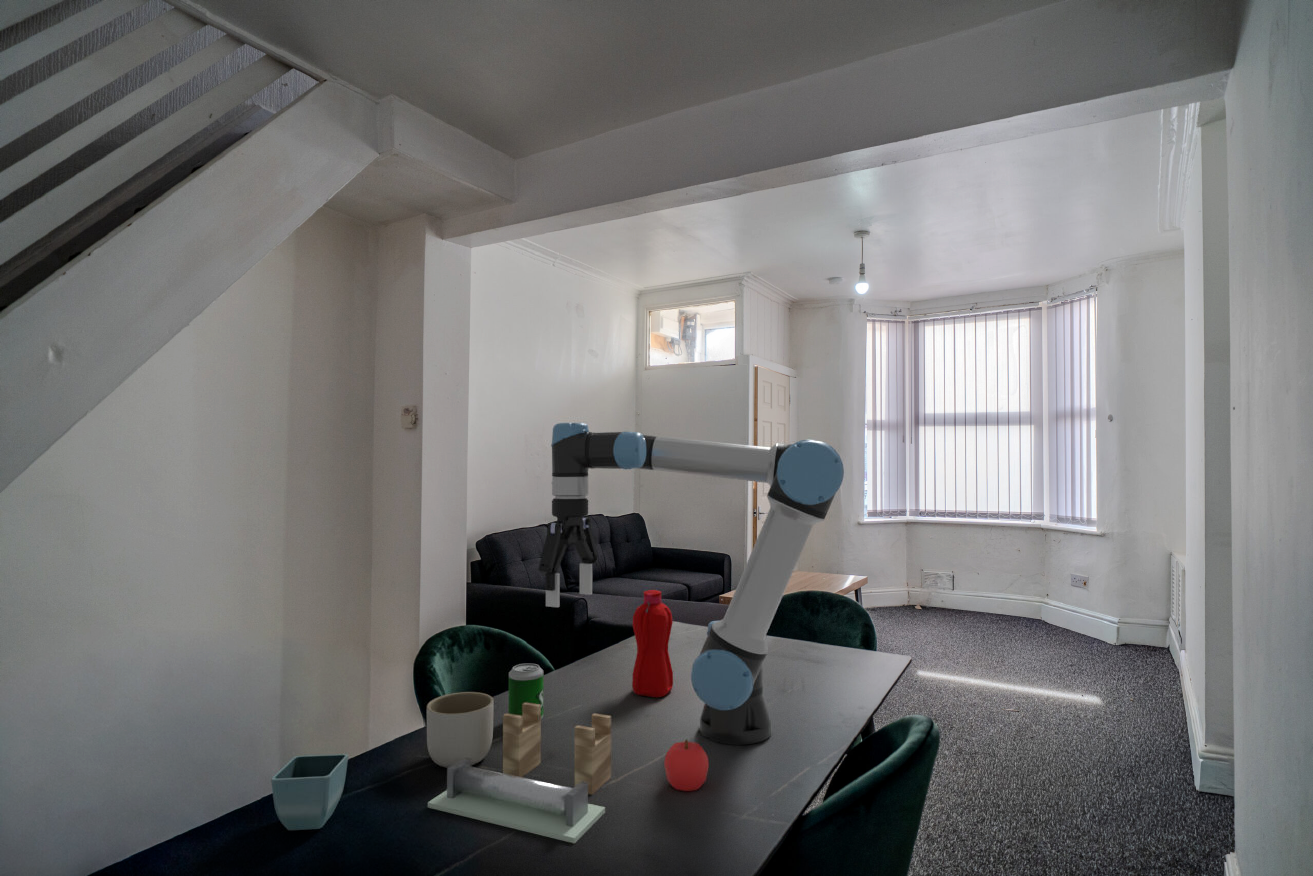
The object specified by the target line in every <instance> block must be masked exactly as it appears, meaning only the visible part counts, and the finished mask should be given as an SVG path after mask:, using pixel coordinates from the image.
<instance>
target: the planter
mask: <svg viewBox="0 0 1313 876" xmlns="http://www.w3.org/2000/svg"><path fill="white" fill-rule="evenodd" d="M494 705H495V703H494V698H493V696H491V695H489V694H487V693H483V692H476V691H464V692H463V691H461V692H453V693H449V694H448V693H447V694H444V695H441V696H438V697H435V698H434V699H432V700H430V701H429V702H428V703H427V704H426V745H427V750H428V754H429V756H430V758H431V760H432V761H433V762H434V763H435V764H436V765H438V766H439V767H441V768H446V769H447V768H449V767H451V766H452V765H454V764H455V763H457V762H459V761H460V760H462V759H464V758H465V757H466V758H471V766H473V765H476V764H478V763H479V762H481V761H482V760H483V759H484V758H486V756H487V755H488V754H489V752H490V749H491V746H492V744H493V735H494V734H493V733H494V708H495V707H494Z"/></svg>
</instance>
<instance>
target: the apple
mask: <svg viewBox="0 0 1313 876" xmlns="http://www.w3.org/2000/svg"><path fill="white" fill-rule="evenodd" d="M705 751H706V750H704V748H703V746H701V745H700V744H699V743H698V742H693V741H689V740H688V739H685V741H679V742H674V744H673V745H671V746H670V748H669V749H668V751H667V752H666V753H665V755H664V762H663V764H664V769H665V774H666V780H667V781H668V783H669V784H670V785H671V786H672V787H673V788H674V789H675V790H677V791H682V792H690V791H691V792H692V791H697V790H698V789H700V788H701V787H702V785H704V783H706V781H707V775H708V772H709V766H710V762H709V757H708V755H707V753H706V752H705Z"/></svg>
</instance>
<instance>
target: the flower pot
mask: <svg viewBox="0 0 1313 876" xmlns="http://www.w3.org/2000/svg"><path fill="white" fill-rule="evenodd" d="M348 762H349V754H348V753H340V754H339V753H336V754H316V755H296V756H294V757H292V758H291V759H289V761H288V762H287V763H285V765H284V766H283V767H282V768H280V770H279V771H277V772H276V773H275V774H274V775H273V776H272V778H270V781H271V790H272V798H273V804H274V810H275V813H276V815H277V818H278V820H279V822H281V824H282V825H283V826H284V828H286V830H288V831H301V830H303V831H304V830H306V831H307V830H319V829H320V830H321V828H323V826H325V824H326V823H327V821H328V820H329V819H330V818H331V816H332V815H333V814H334V812H335V809H336V808H337V805H338V804H339V801H340V800H341V797H342V795H343V792H344V787H345V782H346V776H347V769H348V768H347V767H348Z"/></svg>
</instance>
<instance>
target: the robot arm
mask: <svg viewBox="0 0 1313 876" xmlns="http://www.w3.org/2000/svg"><path fill="white" fill-rule="evenodd" d="M551 437H552V438H551V445H550V446H551V471H552V473H551V477H552V480H551V495H552V496H553V498H552V500H551V515H552V516H553V517H555V518H556V519H557V520H556V522H548V524H547V529H546V531H547V532H546V536H545V537H546V538H545V541H544V545H543V549H542V553H541V556H540V561H539V565H538V572H539V573H540V574H544V575H545V607H551V608H560V606H561V605H560V599H561V598H560V595H561V593H560V592H561V591H560V587H561V586H560V583H561V581H560V577H561V576H560V573H559V572H558V570H559V568H560V565H561V562H562V560H563V559H564V555H565V553H566V550H567V547H569V546H570V545H571V544H573V546H574V548H575V550H576V552H577V553H578V555H579V559H580V561H581V563H579V595H589V596H590V595H593V564H597V563H598V557H599V553H598V551H597V550H598V549H597V546H596V542H595V537H594V534H593V530H592V521H591V518H590V517H589V518H587V516H588V515H589V499H588V498H587V497H586V496H588V495H589V469H591V470H592V469H608V470H609V469H610V470H612V469H613V470H622V469H623V470H633V469H636V470H637V469H639V470H649V471H660V472H668V473H678V474H685V475H694V476H701V477H702V476H703V477H711V478H721V479H730V480H737V481H738V480H739V481H746V482H748V481H749V482H755V483H756V482H757V483H765V484H768V485H769V490H768V493H767V494H766V497H767V500H768V502H769V507H770V508H769V510H768V513H767V515H766V517H765V520H764V522H763V524H762V527H761V529H760V532H759V534H758V535H757V538H756V540H755V543H754V546H753V548H752V551H751V552H750V555H749V558H748V560H747V563H746V564H745V567H744V570H743V571H742V574H741V576H740V579H739V582H738V584H737V586H736V588H735V590H734V593H733V595H732V598H731V600H730V603H729V605H728V608H727V610H726V612H725V613H724V614H725V615H724V617H723V618H722V619H721V620H713V621H710V622H709V623H708V625H707V631H706V638H705V642H704V644H703V646H702V648H701V651H700V653H699V655H698V656H696V658H695V660H694V661H693V663H692V667H691V673H690V675H691V676H690V680H691V685H692V688H693V690H694V692H695V694H696V695H697V697H698V698H699V699H700V701H702V702H703V703H704V704H703V707H702V708H703V709H702V712H701V715H700V719H699V732H700V733H701V735H703V737H705V738H706V739H708V740H711V741H713V742H717V743H721V744H726V745H739V746H740V745H742V746H743V745H752V744H756V743H762V742H763V741H765V740H767V739H769V738H770V737H771V735H772V720H771V717H770V713H769V710H768V707H767V704H766V700H765V698H764V692H763V691H764V681H763V680H764V679H763V678H764V677H763V676H764V674H763V673H764V672H763V671H764V670H763V669H764V667H763V663H764V661H765V659H766V656H767V654H768V653H769V652H768V651H769V647H768V645H767V642H766V639H765V638H766V636H767V633H768V632H769V631H768V630H769V629H770V626H771V624H772V622H773V619H774V617H775V615H776V613H777V610H778V607H779V606H780V603H781V601H782V598H783V597H784V594H785V592H786V589H787V587H788V584H789V582H790V580H791V578H792V575H793V572H794V570H795V568H796V566H797V563H798V561H799V558H800V557H801V554H802V552H803V550H804V548H805V544H806V542H807V540H808V538H809V535H810V533H811V531H812V528H813V526H814V525H817V524H818V523H821V522H824V521H825V519H826V516H827V515H828V512H829V509H830V507H831V505H832V502H833V501H834V498H835V496H836V494H837V492H838V491H839V489H840V488H841V485H842V483H843V479H844V474H845V472H844V471H845V470H844V463H843V460H842V458H841V456H840V454H839V453H838V452H837V450H836V449H835V448H834V447H833V446H831V445H830V444H828V443H826V442H824V441H820V440H817V439H813V438H812V439H811V438H809V439H802V440H799V441H797V442H794V443H778V442H777V443H775V444H773V446H760V445H759V446H758V445H748V444H741V443H740V444H739V443H729V442H728V443H727V442H718V441H717V442H716V441H707V440H699V439H687V438H676V437H668V436H667V437H666V436H665V437H664V436H655V435H646V434H642V433H641V432H640V431H639V432H637V431H625V430H624V431H610V432H608V431H606V432H592V431H590V430H589V425H588V424H587V423H584V422H560V423H556V424H554V425H553V428H552V435H551Z"/></svg>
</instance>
